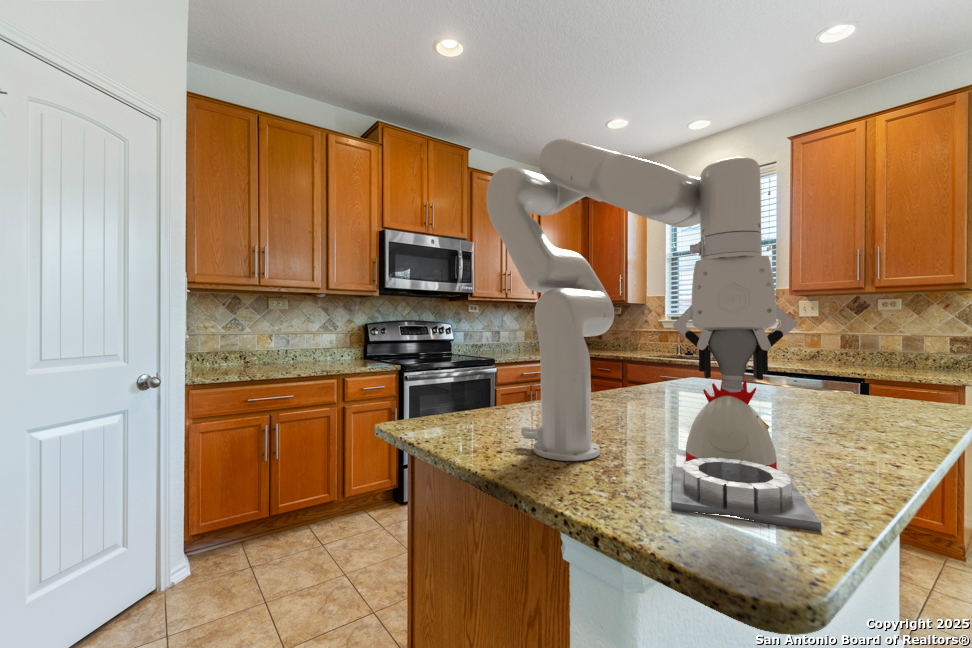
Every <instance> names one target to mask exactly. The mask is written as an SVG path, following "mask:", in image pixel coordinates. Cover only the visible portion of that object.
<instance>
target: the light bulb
mask: <svg viewBox="0 0 972 648" xmlns="http://www.w3.org/2000/svg"><path fill="white" fill-rule="evenodd" d="M707 345H708V347H709V350H710V354H711V355H712V356H713V358H714V359H715V361H716V363H717V364H718V370H719V373H720V374H721V382H722V383H723V384H722V386H723V387H722V388H723V389H725V390H727V391H728V392H738V391H740V390H743V387H742V385H743V383H744V375H745V374H746V371H747V365H748V363H749V361H750V359H751V358H753V353H754V352H755V349H756V346H757V339H756V337H755V334H754V333H753V331H752V330H751V329H740V330H734V329H733V330H713V331H712V333H711V336H710V338H709V341H708V344H707ZM722 380H723V381H722Z"/></svg>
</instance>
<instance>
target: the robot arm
mask: <svg viewBox="0 0 972 648" xmlns="http://www.w3.org/2000/svg"><path fill="white" fill-rule="evenodd" d="M538 167H539V170H540V172H541V173H538V172H535V171H531V170H529V169H525V168H521V167H516V166H508V167H507V166H506V167H503V168H500V169H498V170H497V171H495V172H494V173H493V175H492V176H491V177H490V179H489V182H488V184H487V188H486V200H485V201H486V203H485V204H486V211H487V215H488V218H489V220H490V222H491V224H492V227H493V228H494V230H495V232H496V233H497V234H498V236H499V237H500V238H499V239H501V241H502V243H503V244H504V247H505V248H506V250H507V252H508V254H509V256H510V258H511V260H512V263H513V264H514V266H515V268H516V270H517V272H518V274H519V276H520V278H521V279H522V281H523V283H524V285H525V286H526V287H527V288H528V289H529V290H530V291H532V292H535V293H541V294H542V293H543V294H542V295H540V297H539V298H538V299H537V302H536V303H535V307H534V323H535V328H536V332H537V337H538V344H539V358H540V360H539V362H540V363H539V364H540V365H539V367H540V368H539V369H540V417H541V419H540V421H541V422H540V426H537V428H534V427H529V426H528V427H527V426H522V427H521V431H520V433H521V437H523V439H528V440H534V441H535V443H534V444H533V452H534V453H535V454H536V455H537V456H539V457H542V458H545V459H548V460H554V461H562V462H564V461H565V462H578V461H579V462H580V461H587V460H592V459H595V458H597V457H599V455H600V453H601V448H600V446H599V444H597V443H595V442H593V441H592V387H591V385H592V381H591V380H592V378H591V377H592V376H591V374H592V373H591V356H590V352H589V348H588V345H587V342H586V340H585V337H587V338H588V337H589V338H590V337H596V336H601V335H603V334H605V333H606V332H608V330H610V328H611V327H612V325H613V323H614V319H615V307H614V305H613V302H612V300H611V297H610V296H609V294H608V292H607V291H606V289H605V286H604V285H603V284H602V282H601V280H600V279H599V277H598V275H597V273H596V272H595V271H594V269H593V267H592V266H591V265H590V263H589V262H588V260H587V259H586V258H585V257H584V256H582V255H581V254H580V253H578V252H576V251H573V250H570V249H564V248H559V247H556V246H554V245H553V244H552V243H551V242H550V239H548V237H547V235H546V233H545V232H544V229H543V228H542V226H541V225H540V224H539V222H537V221H536V219H534V217H533V216H531V214H532V215H536V216H544V217H545V216H546V217H547V216H552V215H555V214H557V213H558V212H561V211H563V210H564V209H565V208H568V207H569V206H570V205H573V204H574V203H577V202H578V201H580V200H581V199H583V198H585V197H586V198H587V197H588V198H590V199H592V200H595V201H597V202H599V203H601V202H604V203H607V204H609V205H611V206H614V207H617V208H620V209H622V210H624V211H627V212H630V213H631V214H635V215H638V216H639V217H642V218H646V219H648V220H652V221H656V222H659V223H663V224H664V225H668V226H672V227H674V228H676V227H677V228H688V227H693V226H696V225H700V240H699V241H698V243H695V244H690V245H689V255H697V256H698V257H700V259H699V260H696V261H695V265H694V267H693V273H692V274H693V275H692V284H691V285H692V287H691V305H690V306H689V307H688V308H687V309H686V310H685V311H684V312H683V313H682V314H681V315H680V316H679V317H678V319H676V321H675V322H673V324H672V326H673V327H672V328H673V329H675V330H676V331H678V332H679V333H680V334H681V335H682V336H684V337H685V338H686V340H688V341H690V343H692V344H693V345H694V346H695V347H696V348H697V349H698V372H701V373H703V377H704V378H705V379H710V378H711V377H712V374H711V373H712V369H711V368H712V367H711V362H712V361H711V355H712V354H711V351H710V349H709V346H708V341H709V338H710V336H711V333H712V331H713V330H733V329H734V330H740V329H751V330H752V331H753V333H754V334H755V337H756V339H757V346H756V349H755V352H754V353H753V355H752V362H753V363H752V365H753V367H752V370H753V372H752V373H753V374H752V375H753V377H754V378H755V379H757V380H758V381H763V379H764V374H768V373H769V356H768V355H769V354H768V352H769V350H770V349H771V347H773V346H774V345H775V344H776V343H777V342H779V341H780V340H781V339H782V338H783V337H784V336H786V335H787V334H789V333H790V332H791V331H792V330H794V329H795V328H796V327H797V326H798V324H797V323H798V322H797V321H796V320H794V319H793V318H792V317H791V316H790V315H789V314H788V313H786V311H785V310H783V309H782V308H781V307H780V306H779V305H777V303H776V302H777V300H776V290H775V282H774V275H773V274H774V273H773V270H772V264H771V263H772V262H771V259H770V256H769V255H762V253H763V252H762V250H763V249H762V199H761V198H762V193H761V187H762V186H761V184H762V183H761V167H760V164H759V163H758V161H757V160H756V159H753V158H751V157H744V156H736V157H735V156H734V157H728V158H723V159H720V160H716V161H714V162H711V163H710V164H708V165H707V166H706V167H704V168H703V169H702V171H701V173H700V176H699V177H696V176H692V175H687V174H685V173H683V172H682V171H679V170H677V169H676V168H675V169H674V168H672V167H669V166H667V165H664V164H660V163H657V162H653V161H650V160H647V159H642V158H638V157H635V156H631V155H629V154H628V155H627V154H623V153H620V152H618V151H613V150H608V149H605V148H602V147H598V146H594V145H591V144H587V143H583V142H579V141H576V140H573V139H569V138H568V139H567V138H556V139H554V140H551V141H549V142H548V143H547V144H546V145H545V146H544V147H543V148H541V150H540V153H539V157H538ZM690 320H692V325H693V326H694V327H695V328H697V329H701V331H700V333H699V336H698V335H697V334H696V333H695V332H694V331H693V330H691V329H689V327H687V325H686V324H687V323H689V321H690ZM777 321H778V322H779V325H778V326H777V327H776V328H775V329H774V330H772V331H771V332H770V333H769V334H767V333H766V331H765V330H767V329H769V328H772V327H774V326H775V325H776V322H777Z"/></svg>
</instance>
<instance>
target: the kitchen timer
mask: <svg viewBox="0 0 972 648" xmlns="http://www.w3.org/2000/svg"><path fill="white" fill-rule="evenodd" d="M722 381H723V380H722V379H721V384H720V389H719V388H718V387H717V385H716V384H715V383H712V384H711V387H712V390H713V396H712V395H710V394H709V393H708V391H707V390H706V388H704V389H703V393H704V396H705V398H706V400H707V403H706V404H705V405H704V406H703V407H702V408H701V409H700V410H699V412H698V413H697V415H696V416H695V418H694V420H693V422H692V425H691V428H690V431H689V434H688V436H687V440H686V444H685V460H686V462H687V461H690V460H693V459H699V458H717V459H718V458H725V459H735V460H741V462H742V461H748V462H753V463H757V464H762V465H766V466H769V467H772V468H774V469H776V470H778V467H777V463H778V462H777V458H778V457H777V453H776V449H775V445H774V443H773V440H772V437H771V434H770V432H769V428H770V425H769V424H768V423H766V422H765V421H764V420H763V419H762V417H761V416H760V415H759V413H758V412H757V411H756V410H755V408H753V407H752V406H751V405H750V404H749V403H750V402H751V401H752V398H753V397H754V395H755V393H756V390H757V387H754V388H753V389H752V390H751V391H750V392H748V385H747V383H748V382H747V379H744V380H743V382H742V384H743V385H742V387H743V390H740V391H738V392H728V391H727V390H725V389H723V388H722V387H723V386H722V384H723V383H722Z"/></svg>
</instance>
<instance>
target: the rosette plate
mask: <svg viewBox="0 0 972 648" xmlns="http://www.w3.org/2000/svg"><path fill="white" fill-rule="evenodd" d="M671 487H672V489H671V491H672V493H671V510H672V511H679V512H685V513H692V512H698V513H705V514H719V515H730V516H737V517H740V518H744V519H749V520H754V521H757V522H756V523H761V522H765V523H764V524H768V523H771V524H770V525H774V524H776V525H775V526H781V527H787V528H788V527H789V528H797V529H804V530H810V531H815V532H816V531H817V532H822V521H820V519H819V518H818V516H817V515H816V514H815V512H814V511H813V510H812V508H811V507H810V505H809V504H808V503H807V501H806V500H805V499H804V496H803V495H802V494H801V493H800V491H799V490H798V489H797V487H796V486H795V485H794V484H793V481H792V479H791V478H790V477H789V475H788V474H787V473H785V472H784V471H781V470H779V469H777V470H776V469H774V468H772V467H769V466H766V465H762V464H757V463H753V462H748V461H742V462H741V460H735V459H725V458H718V459H717V458H699V459H693V460H690V461H687V460H686V461H685V462H683V466H675V465H673V466H672V486H671ZM686 511H687V512H686ZM698 513H697V514H698ZM705 514H704V515H705ZM754 521H753V522H754Z"/></svg>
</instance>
